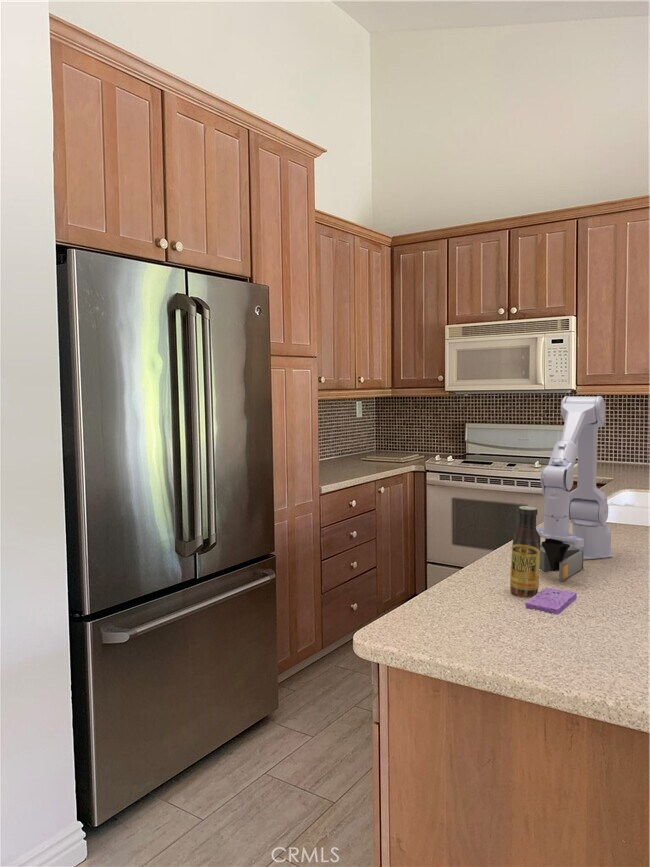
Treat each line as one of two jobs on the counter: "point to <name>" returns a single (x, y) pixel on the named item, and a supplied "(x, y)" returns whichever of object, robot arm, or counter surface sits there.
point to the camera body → (545, 562)
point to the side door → (570, 565)
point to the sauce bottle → (525, 554)
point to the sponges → (551, 600)
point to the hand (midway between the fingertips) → (555, 570)
